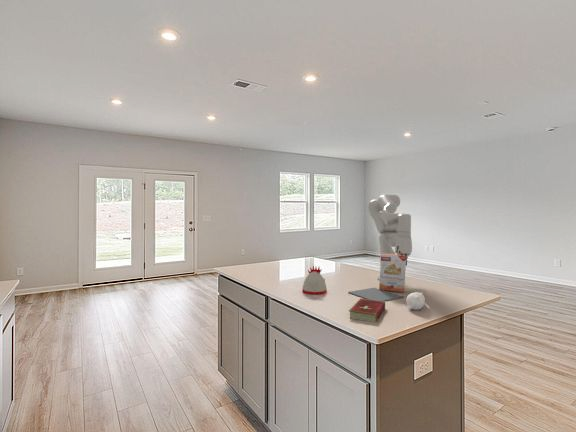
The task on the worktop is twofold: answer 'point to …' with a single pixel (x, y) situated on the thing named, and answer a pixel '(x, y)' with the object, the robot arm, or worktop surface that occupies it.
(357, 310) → the hardcover book
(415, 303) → the crumpled paper ball
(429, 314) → the worktop surface
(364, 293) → the mat
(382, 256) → the cracker box
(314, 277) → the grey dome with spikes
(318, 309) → the worktop surface
